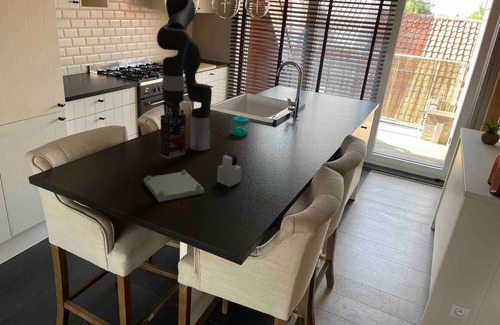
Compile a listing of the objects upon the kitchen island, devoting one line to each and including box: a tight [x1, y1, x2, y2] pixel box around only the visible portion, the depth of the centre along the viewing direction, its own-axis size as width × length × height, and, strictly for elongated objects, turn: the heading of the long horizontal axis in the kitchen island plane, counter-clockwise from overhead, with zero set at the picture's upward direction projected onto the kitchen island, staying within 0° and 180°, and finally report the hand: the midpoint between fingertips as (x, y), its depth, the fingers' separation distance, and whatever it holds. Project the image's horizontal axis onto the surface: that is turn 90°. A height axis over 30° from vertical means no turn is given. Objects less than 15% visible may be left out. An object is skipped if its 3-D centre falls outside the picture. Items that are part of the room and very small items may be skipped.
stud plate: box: [143, 169, 205, 203], centre depth 144 cm, size 18×18×3 cm
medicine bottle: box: [216, 153, 242, 188], centre depth 151 cm, size 7×7×12 cm
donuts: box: [230, 116, 250, 138], centre depth 214 cm, size 10×10×10 cm
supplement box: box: [160, 113, 187, 160], centre depth 137 cm, size 9×5×16 cm, turn 143°
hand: (173, 132), depth 136 cm, fingers closed on supplement box, 6 cm apart
